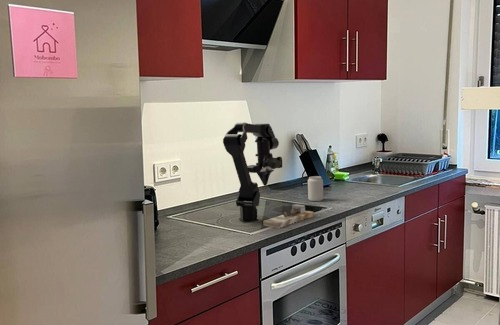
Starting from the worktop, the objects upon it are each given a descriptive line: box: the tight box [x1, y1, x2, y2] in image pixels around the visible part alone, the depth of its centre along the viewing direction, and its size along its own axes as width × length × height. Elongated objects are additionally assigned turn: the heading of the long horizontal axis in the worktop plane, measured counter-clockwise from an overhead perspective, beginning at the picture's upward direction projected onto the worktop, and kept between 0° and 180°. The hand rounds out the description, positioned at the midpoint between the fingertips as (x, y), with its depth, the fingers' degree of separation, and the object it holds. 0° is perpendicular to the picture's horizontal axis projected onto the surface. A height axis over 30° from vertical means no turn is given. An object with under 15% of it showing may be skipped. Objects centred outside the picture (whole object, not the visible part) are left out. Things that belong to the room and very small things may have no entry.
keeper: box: [291, 203, 306, 214], centre depth 209 cm, size 3×5×3 cm, turn 48°
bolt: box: [281, 204, 299, 217], centre depth 206 cm, size 10×3×5 cm, turn 138°
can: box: [307, 175, 324, 202], centre depth 245 cm, size 8×8×12 cm
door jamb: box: [263, 210, 315, 229], centre depth 205 cm, size 24×8×2 cm, turn 138°
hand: (265, 185), depth 223 cm, fingers closed
